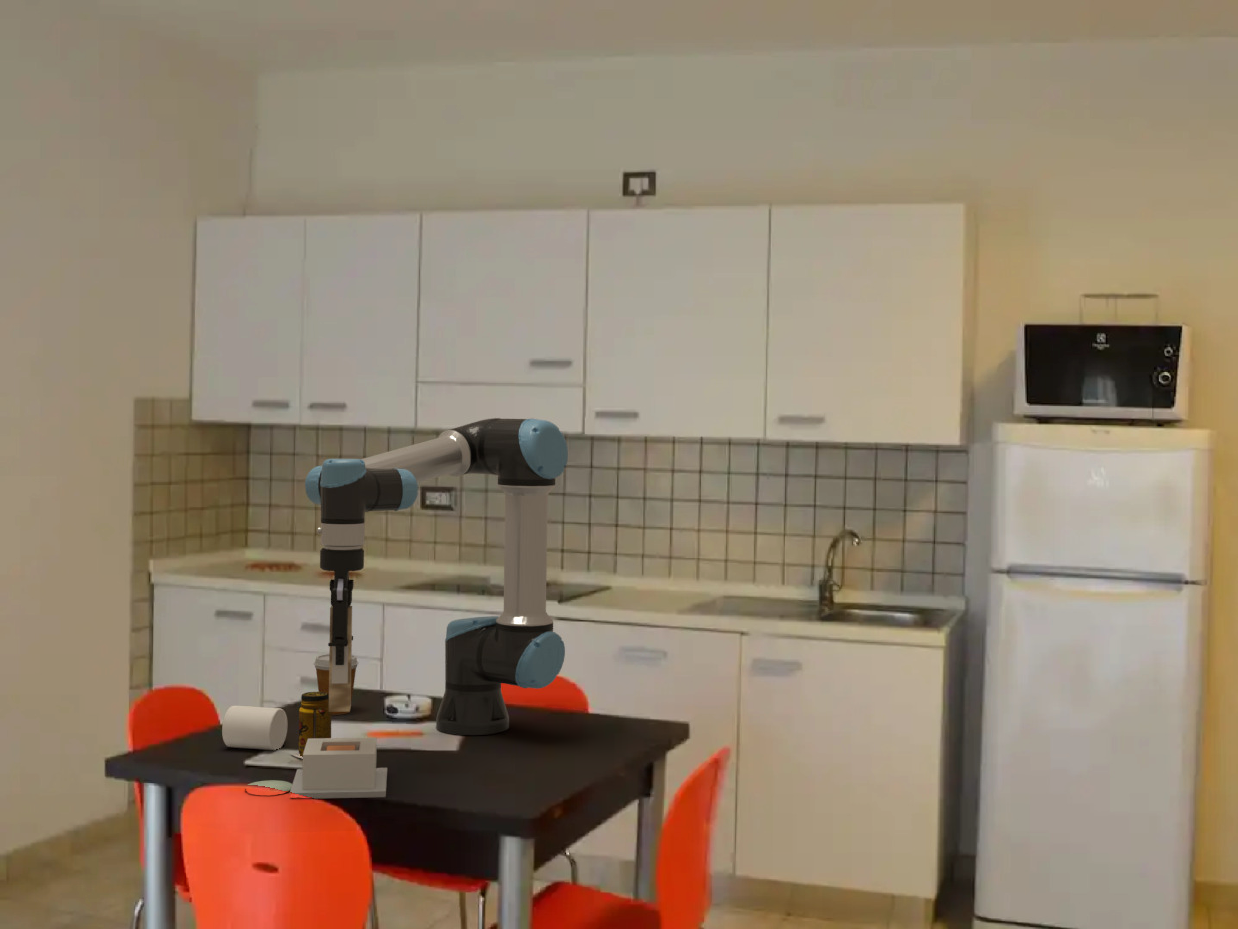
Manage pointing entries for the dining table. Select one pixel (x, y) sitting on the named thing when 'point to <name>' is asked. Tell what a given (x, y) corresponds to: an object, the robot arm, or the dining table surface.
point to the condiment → (314, 718)
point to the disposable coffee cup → (323, 675)
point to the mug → (254, 727)
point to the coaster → (274, 784)
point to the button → (340, 748)
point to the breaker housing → (340, 770)
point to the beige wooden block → (342, 691)
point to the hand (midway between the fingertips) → (340, 680)
